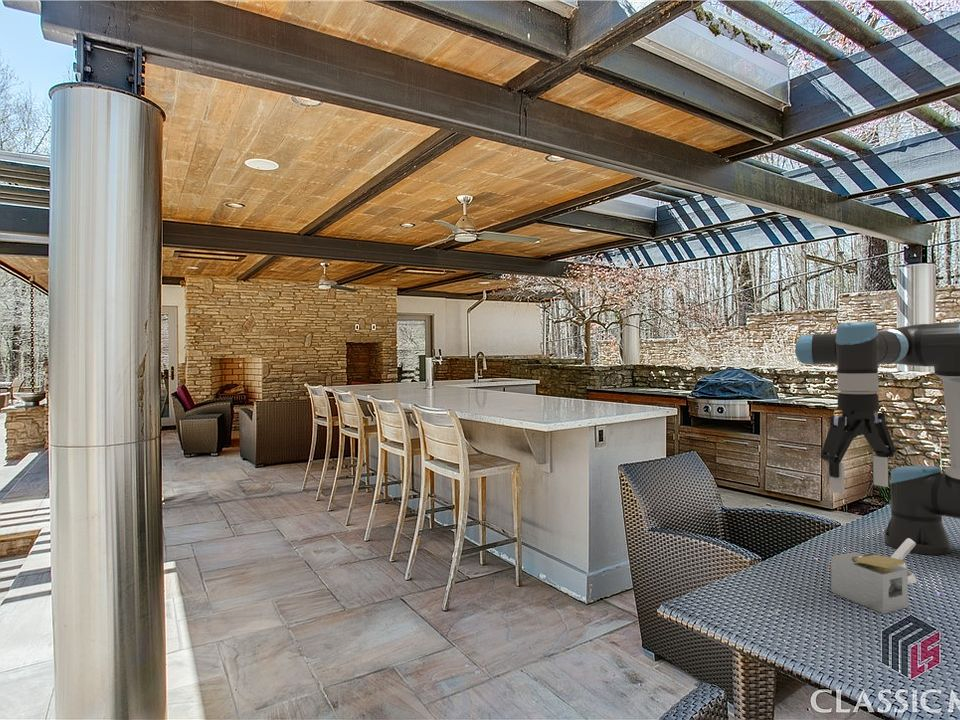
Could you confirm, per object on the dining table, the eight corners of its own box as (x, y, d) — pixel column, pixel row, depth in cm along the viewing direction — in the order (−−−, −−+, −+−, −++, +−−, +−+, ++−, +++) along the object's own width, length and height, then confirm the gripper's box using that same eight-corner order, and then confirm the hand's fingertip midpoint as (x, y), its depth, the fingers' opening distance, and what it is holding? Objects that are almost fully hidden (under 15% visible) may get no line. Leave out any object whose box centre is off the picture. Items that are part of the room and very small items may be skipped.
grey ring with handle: (944, 562, 137) (927, 548, 135) (912, 599, 138) (894, 586, 137) (917, 545, 144) (900, 532, 143) (887, 581, 146) (869, 568, 144)
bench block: (855, 587, 136) (854, 551, 136) (908, 607, 125) (907, 569, 125) (831, 592, 133) (831, 556, 133) (883, 613, 122) (882, 574, 122)
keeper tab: (870, 558, 131) (869, 552, 131) (904, 564, 124) (903, 559, 124) (852, 561, 129) (851, 556, 129) (885, 568, 122) (884, 563, 122)
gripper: (879, 389, 131) (881, 479, 131) (800, 394, 123) (802, 491, 123) (913, 390, 124) (915, 486, 124) (832, 396, 115) (835, 499, 116)
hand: (859, 489), depth 123 cm, fingers open, 13 cm apart
